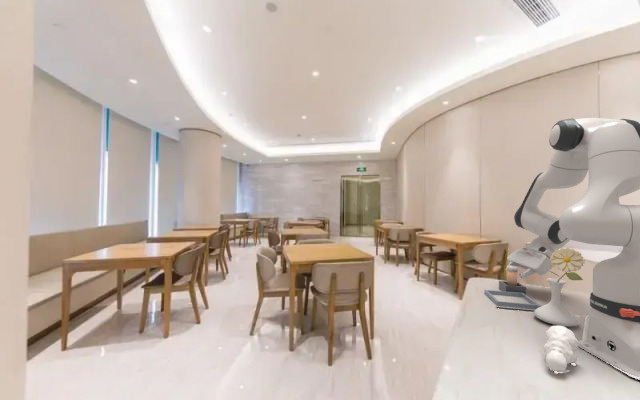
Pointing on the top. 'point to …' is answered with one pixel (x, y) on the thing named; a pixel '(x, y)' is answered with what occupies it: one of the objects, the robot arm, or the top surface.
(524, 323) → the top surface
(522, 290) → the socket block
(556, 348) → the white lumpy oval piece
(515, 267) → the tan bottle
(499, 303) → the parts tray
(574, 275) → the flower in vase
